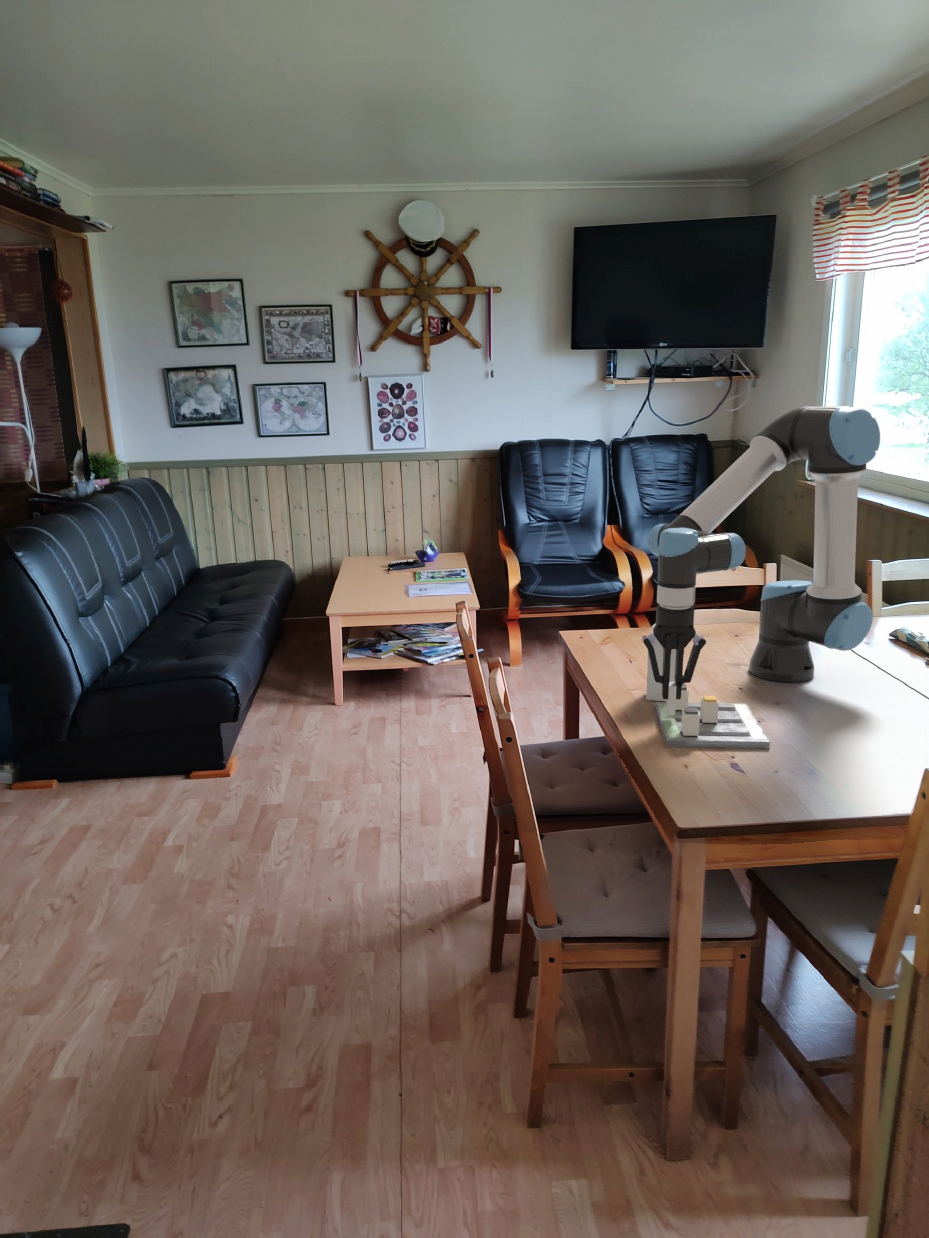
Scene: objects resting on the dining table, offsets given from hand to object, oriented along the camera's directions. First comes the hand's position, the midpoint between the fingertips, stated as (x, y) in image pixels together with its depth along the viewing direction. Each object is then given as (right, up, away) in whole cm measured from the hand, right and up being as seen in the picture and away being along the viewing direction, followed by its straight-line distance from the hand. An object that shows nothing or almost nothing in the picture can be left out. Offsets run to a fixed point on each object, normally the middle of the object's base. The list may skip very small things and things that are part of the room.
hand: (670, 712), depth 180 cm
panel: (+8, -3, 0) cm, 9 cm away
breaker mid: (+8, -1, 0) cm, 8 cm away
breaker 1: (+4, 0, +7) cm, 8 cm away
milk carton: (+3, +2, +18) cm, 18 cm away
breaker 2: (+2, -3, -7) cm, 8 cm away
